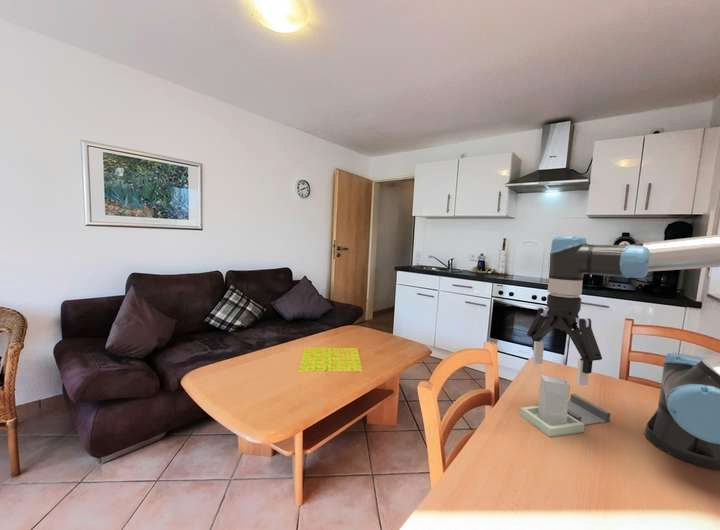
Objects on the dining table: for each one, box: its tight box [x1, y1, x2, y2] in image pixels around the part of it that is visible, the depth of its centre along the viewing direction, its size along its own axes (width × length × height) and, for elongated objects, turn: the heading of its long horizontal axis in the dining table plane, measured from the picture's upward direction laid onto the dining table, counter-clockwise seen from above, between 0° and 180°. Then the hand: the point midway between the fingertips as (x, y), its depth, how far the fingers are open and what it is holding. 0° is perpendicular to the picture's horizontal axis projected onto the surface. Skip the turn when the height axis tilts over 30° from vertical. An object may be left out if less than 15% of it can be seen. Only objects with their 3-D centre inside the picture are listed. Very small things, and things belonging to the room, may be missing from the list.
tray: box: [519, 405, 585, 438], centre depth 84 cm, size 10×11×2 cm
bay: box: [567, 393, 612, 426], centre depth 90 cm, size 11×12×2 cm
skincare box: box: [537, 374, 571, 426], centre depth 84 cm, size 6×4×12 cm
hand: (557, 373), depth 83 cm, fingers open, 13 cm apart
